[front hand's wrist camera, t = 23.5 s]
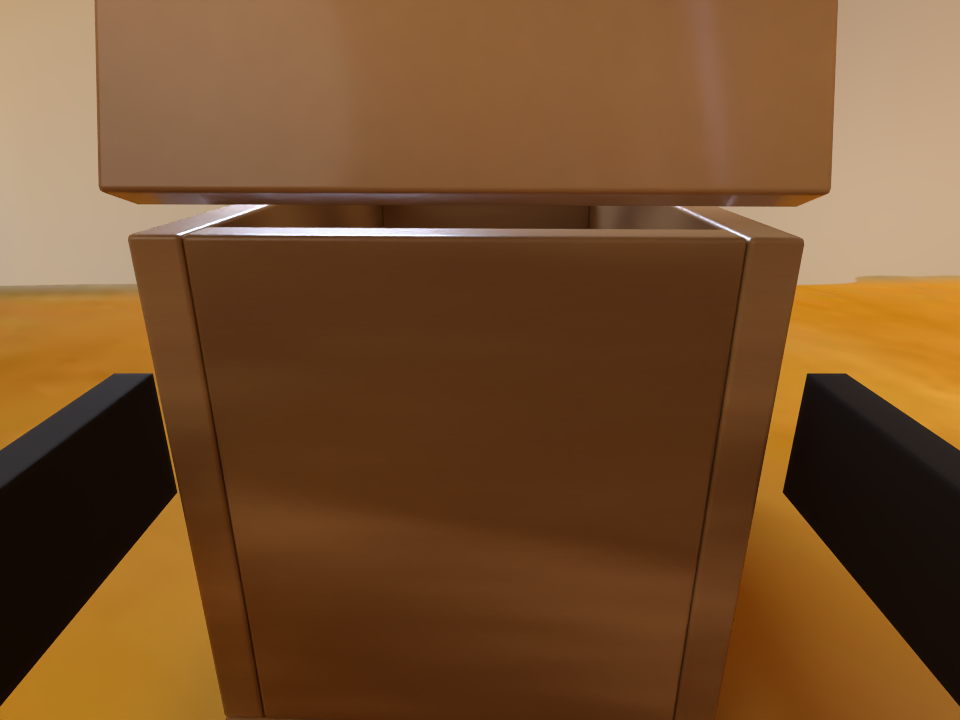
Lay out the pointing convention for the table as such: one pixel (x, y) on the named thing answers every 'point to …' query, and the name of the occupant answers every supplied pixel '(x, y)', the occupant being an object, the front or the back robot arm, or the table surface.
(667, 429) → the chest
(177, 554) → the table surface
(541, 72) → the lid
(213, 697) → the table surface
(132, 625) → the table surface
